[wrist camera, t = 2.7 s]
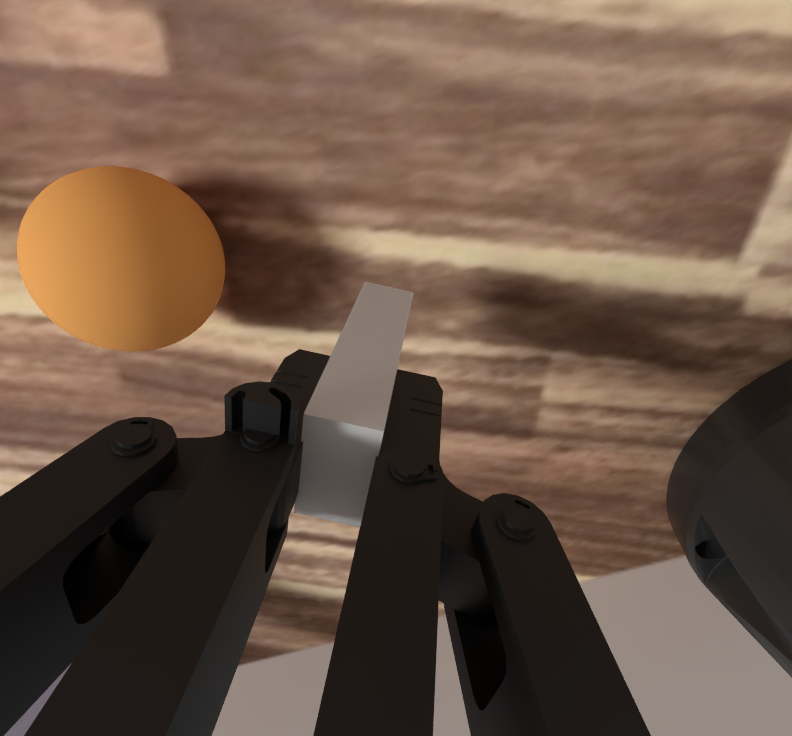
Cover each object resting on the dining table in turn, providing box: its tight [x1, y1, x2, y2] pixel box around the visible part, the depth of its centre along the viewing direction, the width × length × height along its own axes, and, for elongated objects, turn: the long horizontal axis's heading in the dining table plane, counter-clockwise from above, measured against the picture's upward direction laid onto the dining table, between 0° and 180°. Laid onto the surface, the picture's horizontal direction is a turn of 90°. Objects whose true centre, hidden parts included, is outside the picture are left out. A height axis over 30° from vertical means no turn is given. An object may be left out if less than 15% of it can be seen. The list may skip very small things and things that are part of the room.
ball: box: [17, 166, 225, 352], centre depth 16 cm, size 6×6×6 cm
